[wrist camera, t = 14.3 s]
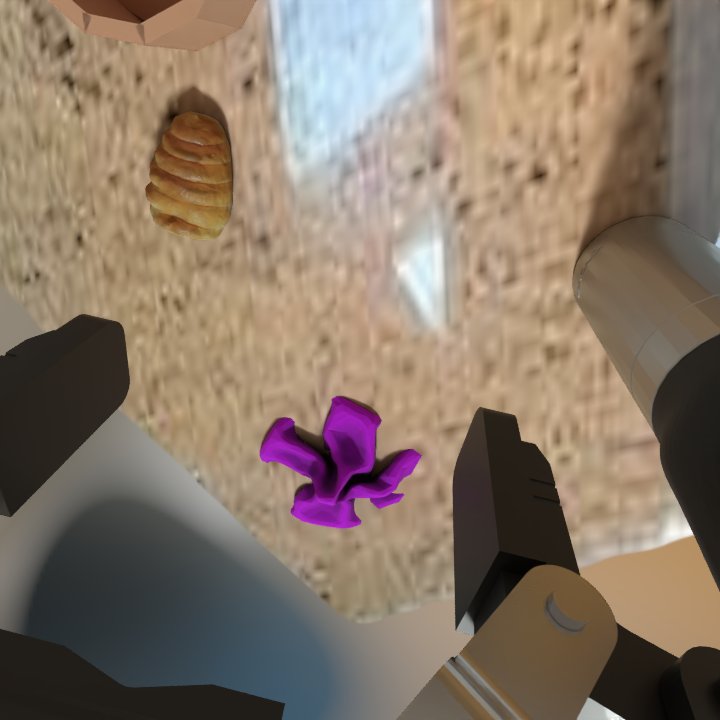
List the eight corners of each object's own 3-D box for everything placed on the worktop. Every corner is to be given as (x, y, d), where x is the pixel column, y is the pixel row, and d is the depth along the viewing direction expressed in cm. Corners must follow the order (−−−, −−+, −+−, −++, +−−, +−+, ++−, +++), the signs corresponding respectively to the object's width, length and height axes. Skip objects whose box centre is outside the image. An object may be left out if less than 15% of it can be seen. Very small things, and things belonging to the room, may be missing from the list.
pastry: (167, 96, 36) (140, 98, 33) (250, 129, 36) (232, 134, 33) (156, 212, 41) (132, 224, 38) (230, 240, 41) (212, 254, 38)
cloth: (314, 535, 61) (302, 578, 56) (228, 434, 54) (205, 473, 49) (474, 491, 53) (478, 536, 48) (397, 365, 46) (391, 402, 40)
